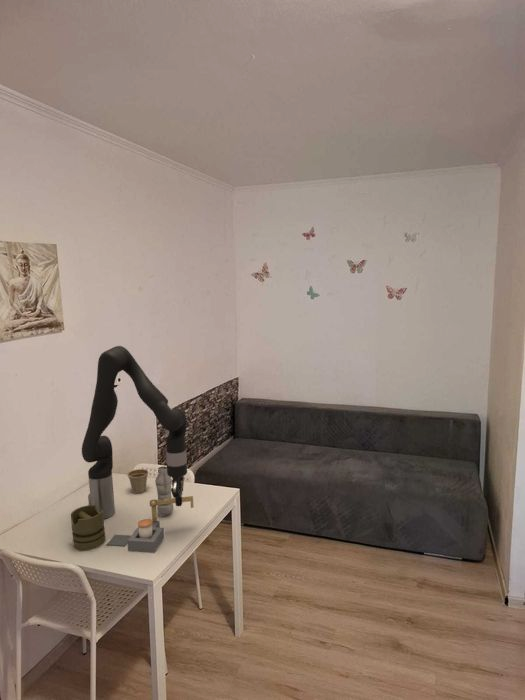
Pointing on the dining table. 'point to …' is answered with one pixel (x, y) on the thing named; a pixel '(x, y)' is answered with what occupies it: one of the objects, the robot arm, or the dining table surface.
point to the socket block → (147, 544)
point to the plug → (145, 528)
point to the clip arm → (171, 501)
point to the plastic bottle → (164, 491)
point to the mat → (118, 540)
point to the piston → (87, 528)
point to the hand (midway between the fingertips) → (179, 505)
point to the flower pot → (138, 480)
